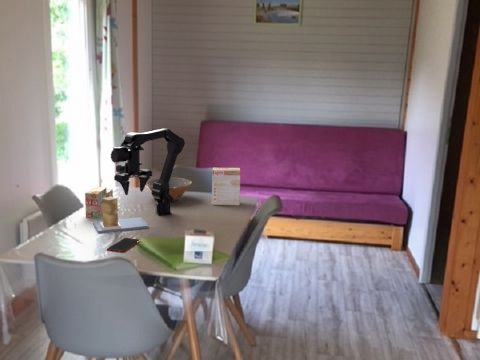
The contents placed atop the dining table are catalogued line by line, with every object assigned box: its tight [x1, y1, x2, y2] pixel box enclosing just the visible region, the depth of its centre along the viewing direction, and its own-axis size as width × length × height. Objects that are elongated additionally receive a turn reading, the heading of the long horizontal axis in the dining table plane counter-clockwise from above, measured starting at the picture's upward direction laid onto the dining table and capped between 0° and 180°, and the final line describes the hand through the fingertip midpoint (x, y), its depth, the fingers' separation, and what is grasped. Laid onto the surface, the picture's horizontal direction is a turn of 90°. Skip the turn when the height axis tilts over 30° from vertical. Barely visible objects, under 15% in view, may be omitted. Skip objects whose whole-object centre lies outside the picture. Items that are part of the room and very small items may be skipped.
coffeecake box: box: [211, 166, 241, 206], centre depth 261 cm, size 15×7×20 cm, turn 92°
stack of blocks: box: [84, 186, 114, 219], centre depth 239 cm, size 21×6×12 cm, turn 175°
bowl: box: [146, 176, 192, 202], centre depth 267 cm, size 25×25×10 cm
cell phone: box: [106, 237, 140, 254], centre depth 194 cm, size 8×15×1 cm, turn 164°
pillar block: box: [102, 196, 119, 227], centre depth 213 cm, size 4×4×13 cm
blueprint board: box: [92, 216, 149, 234], centre depth 219 cm, size 22×14×2 cm, turn 116°
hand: (134, 193), depth 226 cm, fingers open, 9 cm apart
